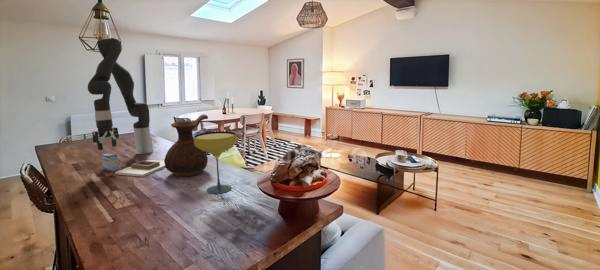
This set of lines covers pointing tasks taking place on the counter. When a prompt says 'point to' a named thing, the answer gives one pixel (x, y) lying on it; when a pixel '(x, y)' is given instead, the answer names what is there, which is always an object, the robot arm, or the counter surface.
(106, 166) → the medicine box
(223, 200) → the counter surface
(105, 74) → the robot arm
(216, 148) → the cocktail glass
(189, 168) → the jug
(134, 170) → the board
